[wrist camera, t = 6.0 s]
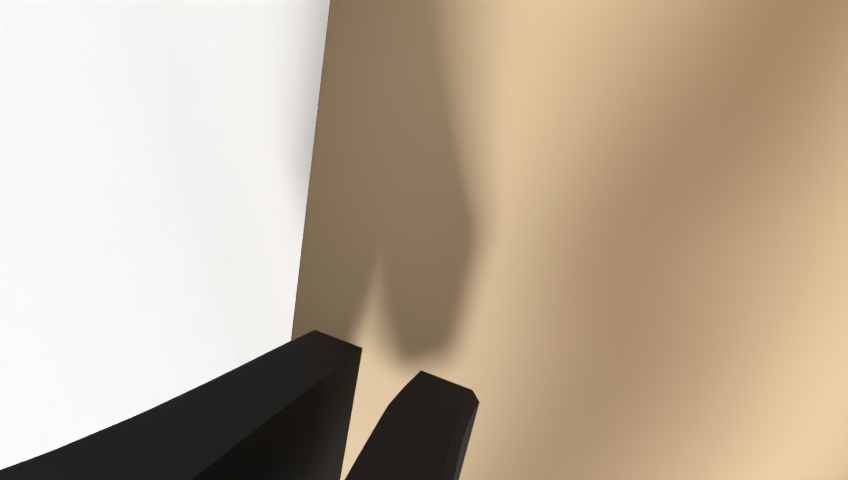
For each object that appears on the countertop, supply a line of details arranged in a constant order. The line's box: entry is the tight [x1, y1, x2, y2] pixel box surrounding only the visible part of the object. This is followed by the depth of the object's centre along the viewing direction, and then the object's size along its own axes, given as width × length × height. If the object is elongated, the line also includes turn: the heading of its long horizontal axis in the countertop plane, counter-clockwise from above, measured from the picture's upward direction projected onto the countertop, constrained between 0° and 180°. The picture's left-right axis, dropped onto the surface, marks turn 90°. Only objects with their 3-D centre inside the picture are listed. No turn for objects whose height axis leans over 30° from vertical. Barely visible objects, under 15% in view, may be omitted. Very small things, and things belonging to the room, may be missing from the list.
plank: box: [291, 0, 848, 480], centre depth 11 cm, size 9×11×2 cm
